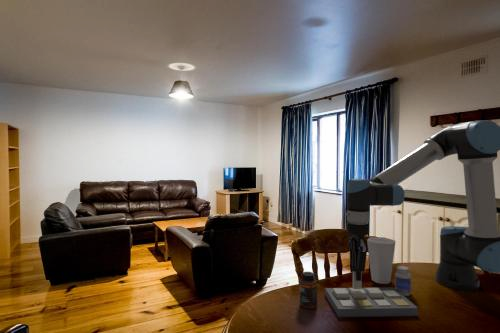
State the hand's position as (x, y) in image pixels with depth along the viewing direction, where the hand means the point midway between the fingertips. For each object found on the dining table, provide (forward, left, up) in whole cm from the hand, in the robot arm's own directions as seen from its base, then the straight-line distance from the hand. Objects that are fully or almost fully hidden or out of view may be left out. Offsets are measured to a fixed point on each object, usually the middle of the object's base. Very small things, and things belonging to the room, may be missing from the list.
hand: (356, 288), depth 109 cm
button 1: (-12, 0, -4) cm, 13 cm away
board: (-3, +2, -5) cm, 6 cm away
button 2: (-6, 0, -3) cm, 7 cm away
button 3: (0, 0, -3) cm, 3 cm away
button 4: (+6, 0, -3) cm, 7 cm away
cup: (-17, -19, -5) cm, 26 cm away
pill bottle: (-20, -7, -5) cm, 22 cm away
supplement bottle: (+18, +2, -5) cm, 19 cm away
